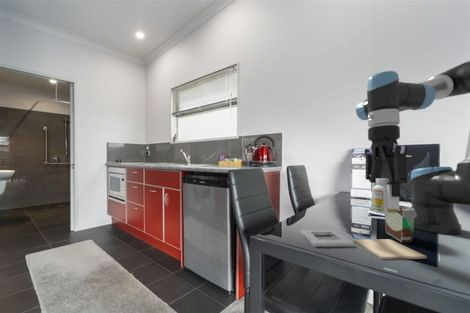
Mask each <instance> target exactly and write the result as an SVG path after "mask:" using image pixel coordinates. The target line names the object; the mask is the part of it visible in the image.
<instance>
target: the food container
mask: <svg viewBox="0 0 470 313" xmlns="http://www.w3.org/2000/svg"><path fill="white" fill-rule="evenodd" d="M411 207H412V206H405V205H400V204H399V209H397V213H396V214H384V221H385V222H384V223H385V233H386V234H388V235H389V236H392V238H394V239H395V240H398V241H399V242H401V243H411V242H413V241H414V240H413V239H414V229H415V228H414V218H415V217H417V214H416V211H415V209H413V208H411Z"/></svg>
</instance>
